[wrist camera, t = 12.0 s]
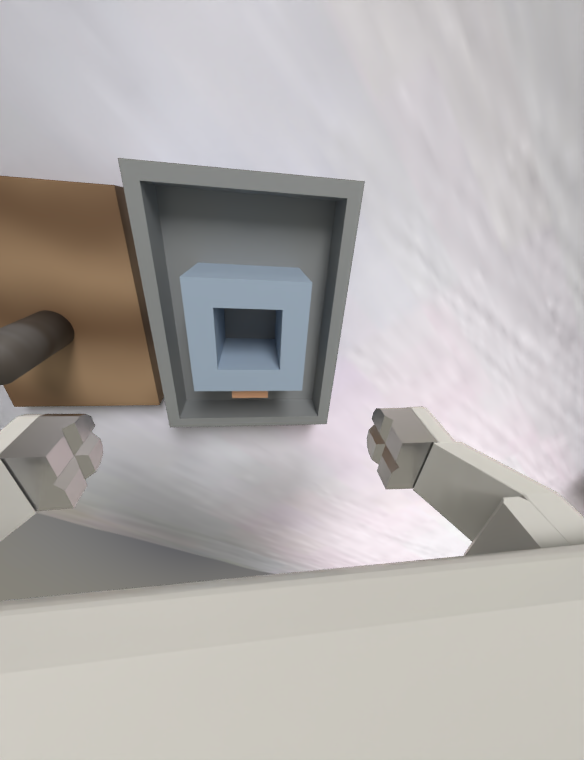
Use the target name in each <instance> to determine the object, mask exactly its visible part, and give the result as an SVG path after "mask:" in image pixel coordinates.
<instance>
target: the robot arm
mask: <svg viewBox="0 0 584 760" xmlns="http://www.w3.org/2000/svg"><path fill="white" fill-rule="evenodd" d="M372 420H373V422H374V424H375V425H373V426H372V427H371V428H370V429H369V431H368V435H367V448H368V452H369V455H370V457H371V459H372V460H373V461H374V462H376V463H377V464H379V466H378V469H377V472H378V474H379V476H380V478H381V480H382V482H383V485H384V487H385V489H411V488H414V489H413V490H414V491H415V492H416V493H417V494H418V495H420V496H421V497H422V498H423V499H424V500H425V501H426V502H428V503H429V504H430V505H431V506H432V507H433V508H434V509H436V510H437V511H438V512H439V513H440V514H441V515H442V516H444V517H445V518H446V519H447V520H448V521H449V522H450V523H452V524H453V525H454V526H455V527H456V528H457V529H458V530H460V531H461V532H462V533H463V534H464V535H465V536H466V537H468V538H469V539H470V540H471V541H472V543H471V545H470V546H469V547H468V549H467V550H466V552H465V553H464V556H458V557H447V558H437V559H427V560H416V561H406V562H396V563H385V564H375V565H365V566H354V567H344V568H333V569H323V570H313V571H302V572H292V573H281V574H271V575H261V576H251V577H240V578H231V579H220V580H210V581H199V582H189V583H179V584H168V585H158V586H148V587H138V588H128V589H117V590H107V591H97V592H86V593H76V594H67V595H55V596H45V597H35V598H24V599H14V600H4V601H0V760H584V517H583V516H582V515H581V514H580V513H579V512H578V511H577V510H576V509H575V508H574V507H573V506H571V505H570V504H569V503H568V502H567V501H566V500H565V499H564V498H563V497H562V496H561V495H560V494H559V493H557V492H555V491H554V490H552V489H550V488H548V487H546V486H544V485H542V484H540V483H538V482H536V481H535V480H533V479H531V478H529V477H527V476H525V475H523V474H521V473H519V472H517V471H516V470H514V469H512V468H510V467H508V466H506V465H504V464H502V463H500V462H498V461H497V460H495V459H493V458H491V457H489V456H487V455H485V454H483V453H481V452H479V451H478V450H476V449H474V448H472V447H470V446H468V445H466V444H464V443H462V442H456V441H455V440H454V439H453V438H452V437H451V436H450V434H449V433H448V432H447V431H446V430H445V429H444V428H443V426H442V425H441V424H440V423H439V422H438V421H437V420H436V418H435V417H434V416H433V415H432V414H431V413H430V411H429V410H428V409H427V408H425V407H423V406H421V407H407V408H376V409H375V411H374V412H373V416H372ZM94 427H95V424H94V422H93V420H92V418H91V416H89V415H87V414H24V415H21V416H17V417H16V418H15V419H14V420H13V421H11V422H10V423H9V424H8V425H7V426H6V427H4V428H3V429H2V430H1V431H0V542H1V541H2V540H3V539H4V538H6V537H7V536H8V535H9V534H10V533H12V532H13V531H14V530H15V529H17V528H18V527H19V526H21V525H22V524H23V523H24V522H26V521H27V520H28V519H29V518H31V517H32V516H33V515H34V514H36V511H44V510H56V509H68V508H74V507H75V506H76V504H77V502H78V501H79V499H80V497H81V496H82V494H83V492H84V491H85V489H86V487H87V486H88V485H87V482H86V478H88V477H89V476H91V475H92V474H93V473H95V472H96V471H97V469H98V467H99V465H100V464H101V460H102V456H103V445H102V442H101V439H100V438H99V437H98V436H96V435H95V434H94V433H92V430H93V429H94Z"/></svg>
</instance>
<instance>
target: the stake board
mask: <svg viewBox="0 0 584 760" xmlns="http://www.w3.org/2000/svg"><path fill="white" fill-rule="evenodd" d="M0 385H3V386H4V388H5V389H6V391H7V393H8V395H9V397H10V399H11V401H12V403H13V405H14V407H28V406H116V405H160V403H161V401H162V399H163V397H164V394H163V389H162V384H161V379H160V374H159V368H158V363H157V358H156V353H155V348H154V343H153V337H152V332H151V327H150V322H149V317H148V312H147V306H146V301H145V296H144V291H143V286H142V281H141V275H140V270H139V265H138V260H137V255H136V249H135V244H134V239H133V234H132V229H131V224H130V218H129V213H128V208H127V203H126V198H125V193H124V187H119V186H115V185H105V184H93V183H81V182H68V181H56V180H44V179H32V178H20V177H8V176H0Z"/></svg>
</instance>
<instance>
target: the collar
mask: <svg viewBox="0 0 584 760" xmlns="http://www.w3.org/2000/svg"><path fill="white" fill-rule="evenodd" d="M180 284H181V292H182V299H183V307H184V315H185V323H186V331H187V338H188V346H189V354H190V362H191V370H192V377H193V385H194V391H232V398H268V391H302V385H303V375H304V365H305V354H306V344H307V333H308V323H309V312H310V302H311V291H312V282H311V281H310V279H309V278H308V277H307V276H306V275H305V274H304V273H303V272H302V270H301V269H300V268H293V267H274V266H255V265H235V264H216V263H197V264H195V265H194V266H193V267H192V268H190V269H189V270H188V271H186V272H185V273H184V274H182V275H181V276H180ZM224 308H238V309H270V310H276V321H275V339H257V338H226V336H225V318H224Z"/></svg>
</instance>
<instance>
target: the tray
mask: <svg viewBox="0 0 584 760" xmlns="http://www.w3.org/2000/svg"><path fill="white" fill-rule="evenodd" d="M118 162H119V167H120V172H121V177H122V182H123V187H124V193H125V198H126V203H127V208H128V213H129V218H130V224H131V229H132V234H133V239H134V244H135V249H136V255H137V260H138V265H139V270H140V275H141V281H142V286H143V291H144V296H145V301H146V306H147V312H148V317H149V322H150V327H151V332H152V337H153V343H154V348H155V353H156V358H157V363H158V368H159V374H160V379H161V384H162V389H163V394H164V399H165V405H166V410H167V415H168V420H169V425H170V427H211V426H259V425H306V424H327V418H328V412H329V405H330V399H331V392H332V386H333V380H334V373H335V367H336V361H337V354H338V348H339V342H340V335H341V329H342V323H343V316H344V310H345V304H346V297H347V291H348V285H349V278H350V272H351V266H352V259H353V253H354V247H355V240H356V234H357V228H358V221H359V215H360V209H361V202H362V196H363V189H364V183H365V181H356V180H345V179H335V178H324V177H314V176H303V175H293V174H282V173H271V172H261V171H250V170H240V169H229V168H219V167H208V166H198V165H187V164H177V163H166V162H156V161H145V160H135V159H124V158H118ZM197 263H216V264H235V265H255V266H274V267H293V268H300V269H301V270H302V272H303V273H304V274H305V275H306V276H307V277H308V278H309V279H310V281H311V282H312V291H311V302H310V312H309V323H308V333H307V344H306V354H305V365H304V375H303V385H302V391H268V398H232V391H194V385H193V377H192V370H191V362H190V354H189V346H188V338H187V331H186V323H185V315H184V307H183V299H182V292H181V284H180V276H181V275H182V274H184V273H185V272H186V271H188V270H189V269H190V268H192V267H193V266H194V265H195V264H197ZM224 318H225V336H226V338H257V339H275V321H276V310H270V309H238V308H224Z"/></svg>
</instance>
